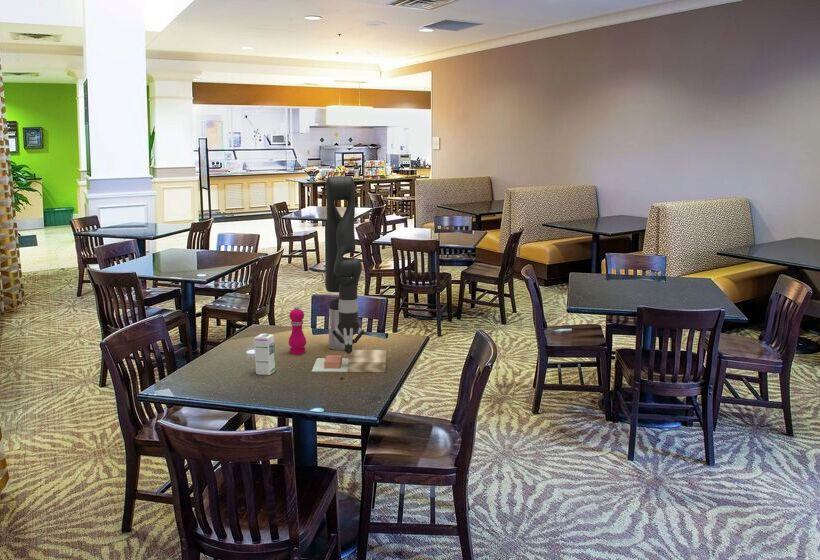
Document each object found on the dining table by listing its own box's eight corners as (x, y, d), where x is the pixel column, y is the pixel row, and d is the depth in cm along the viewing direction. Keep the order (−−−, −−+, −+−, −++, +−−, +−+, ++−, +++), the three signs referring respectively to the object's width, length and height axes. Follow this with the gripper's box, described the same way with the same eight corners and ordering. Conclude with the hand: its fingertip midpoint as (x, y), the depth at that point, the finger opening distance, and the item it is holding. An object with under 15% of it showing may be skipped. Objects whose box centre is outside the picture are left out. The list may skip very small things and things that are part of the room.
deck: (348, 372, 261) (348, 362, 260) (351, 359, 277) (351, 349, 276) (385, 372, 261) (385, 362, 261) (386, 359, 277) (386, 350, 276)
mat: (311, 371, 261) (311, 370, 261) (317, 359, 277) (317, 358, 277) (347, 372, 261) (347, 371, 261) (350, 359, 277) (350, 358, 277)
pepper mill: (308, 350, 289) (307, 303, 285) (304, 355, 282) (303, 307, 278) (291, 349, 290) (290, 303, 286) (286, 354, 282) (285, 307, 279)
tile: (339, 362, 264) (340, 368, 264) (342, 355, 273) (342, 361, 273) (324, 362, 264) (324, 368, 264) (326, 355, 273) (327, 361, 273)
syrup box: (270, 375, 257) (268, 337, 254) (255, 374, 258) (253, 336, 255) (276, 370, 262) (274, 333, 260) (261, 369, 263) (260, 332, 261)
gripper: (330, 312, 261) (330, 356, 264) (365, 312, 261) (365, 356, 265) (332, 307, 269) (332, 350, 272) (366, 307, 269) (366, 350, 272)
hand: (348, 353), depth 268 cm, fingers closed
